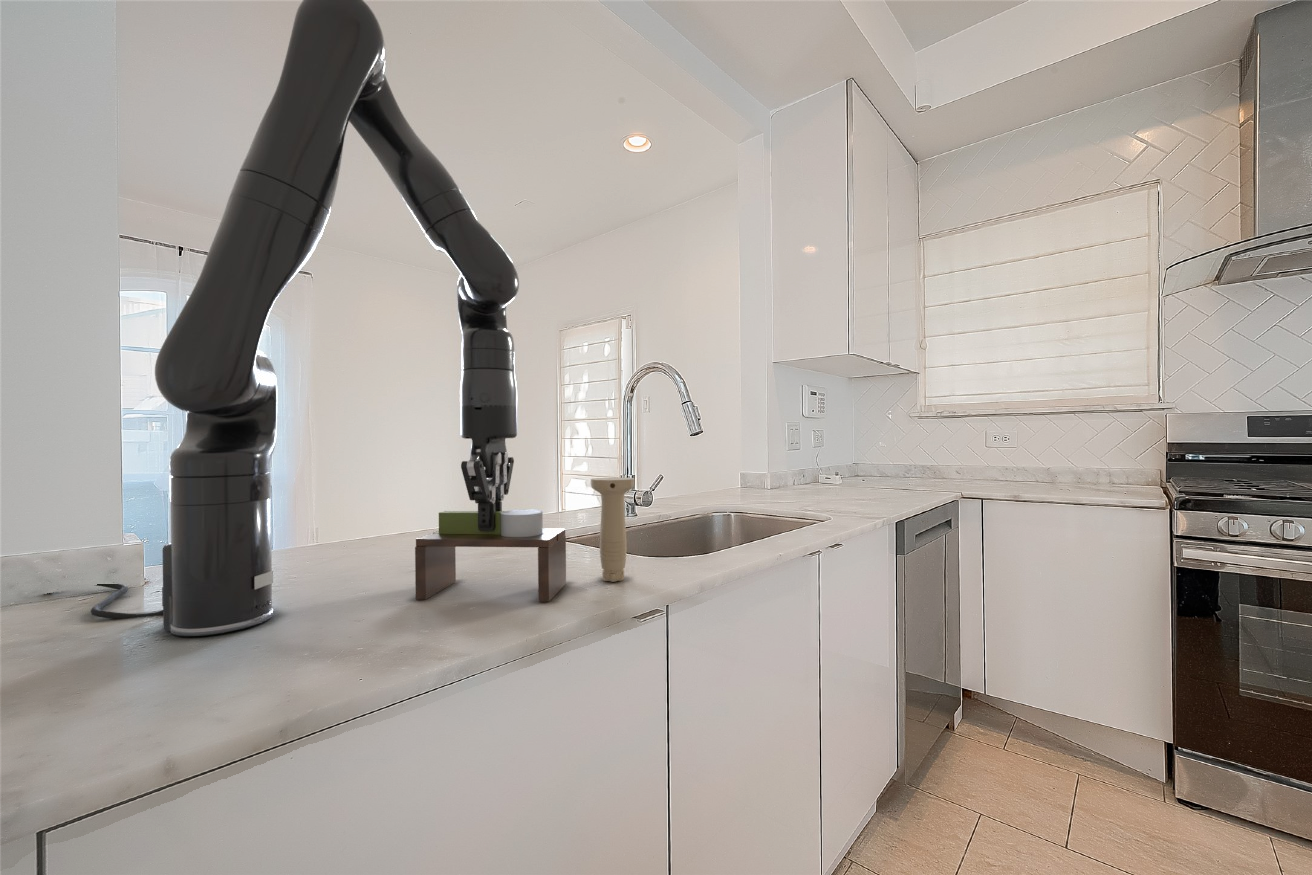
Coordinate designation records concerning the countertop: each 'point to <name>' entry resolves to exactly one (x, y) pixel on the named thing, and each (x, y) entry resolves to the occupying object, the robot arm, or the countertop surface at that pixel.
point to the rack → (439, 549)
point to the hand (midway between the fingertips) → (490, 528)
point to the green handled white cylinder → (505, 521)
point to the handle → (612, 525)
